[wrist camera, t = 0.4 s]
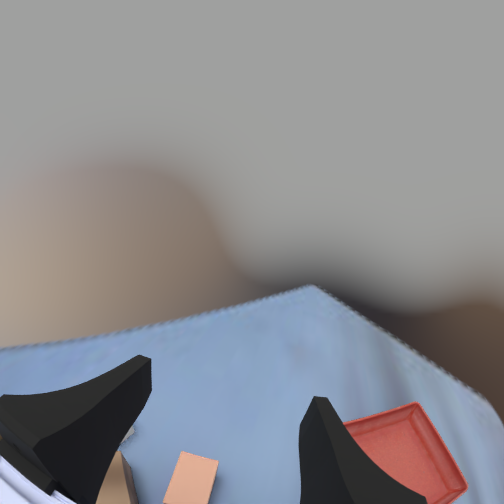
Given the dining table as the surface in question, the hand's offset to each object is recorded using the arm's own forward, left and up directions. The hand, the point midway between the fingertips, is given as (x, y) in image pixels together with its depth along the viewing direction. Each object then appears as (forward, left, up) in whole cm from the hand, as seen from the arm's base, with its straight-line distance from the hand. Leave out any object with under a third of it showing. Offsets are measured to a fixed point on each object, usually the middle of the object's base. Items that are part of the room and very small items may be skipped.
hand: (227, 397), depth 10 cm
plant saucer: (+4, -20, -20) cm, 29 cm away
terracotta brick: (0, +2, -20) cm, 20 cm away
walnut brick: (-3, +9, -20) cm, 22 cm away
